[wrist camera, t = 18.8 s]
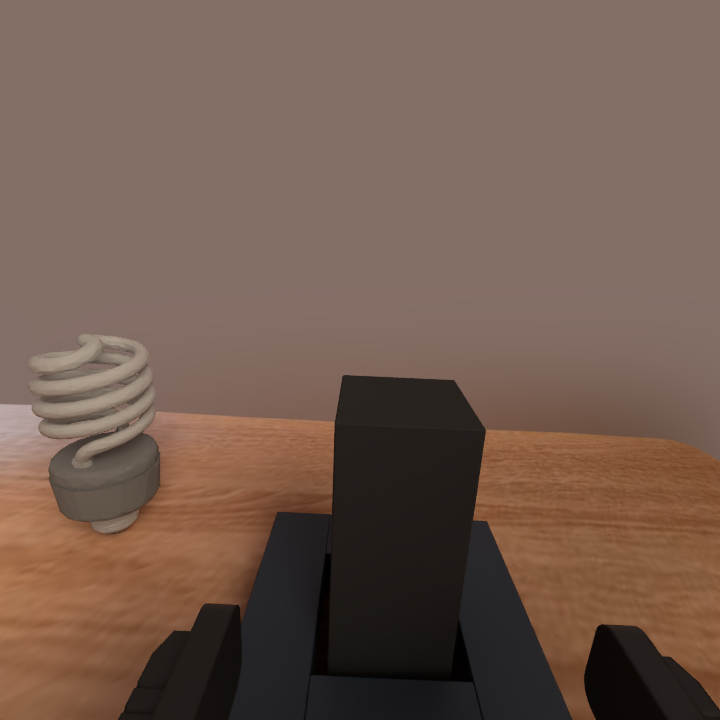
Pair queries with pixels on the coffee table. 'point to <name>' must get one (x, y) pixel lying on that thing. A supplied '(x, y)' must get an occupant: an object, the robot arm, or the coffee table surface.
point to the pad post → (400, 525)
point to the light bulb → (99, 430)
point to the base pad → (386, 695)
